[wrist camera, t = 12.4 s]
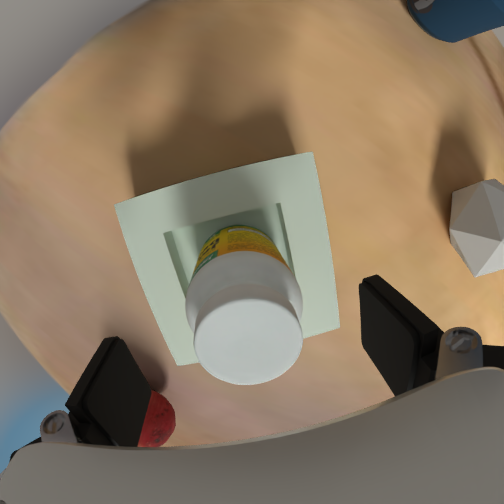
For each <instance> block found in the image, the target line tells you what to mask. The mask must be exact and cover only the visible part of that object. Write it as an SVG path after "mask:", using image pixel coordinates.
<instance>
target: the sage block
mask: <svg viewBox="0 0 504 504" xmlns="http://www.w3.org/2000/svg"><path fill="white" fill-rule="evenodd" d="M114 206H115V210H116V213H117V216H118V220H119V223H120V226H121V229H122V232H123V235H124V238H125V241H126V244H127V247H128V250H129V253H130V256H131V259H132V261H133V264H134V267H135V270H136V272H137V275H138V277H139V280H140V283H141V285H142V288H143V290H144V293H145V295H146V298H147V300H148V303H149V305H150V307H151V310H152V312H153V314H154V317H155V319H156V321H157V323H158V326H159V328H160V330H161V332H162V335H163V337H164V339H165V341H166V343H167V345H168V347H169V349H170V351H171V354H172V356H173V358H174V360H175V362H176V364H177V366H180V365H187V364H193V363H198V362H199V360H198V358H197V356H196V354H195V350H194V345H193V342H194V334H193V332H192V330H191V328H190V327H189V324H188V321H187V317H186V312H185V301H186V294H187V289H188V286H189V283H190V280H191V278H192V275H193V272H194V268H195V266H196V263H197V260H198V257H199V254H200V251H201V249H202V246H203V244H204V243H205V241H206V240H207V239H208V237H209V236H210V235H212V234H213V233H214V232H216V231H217V230H219V229H221V228H223V227H226V226H229V225H233V224H247V225H251V226H254V227H256V228H259V229H260V230H262V231H263V232H265V233H266V234H267V235H268V236H269V237H270V238H271V239H272V241H273V242H274V244H275V245H276V247H277V249H278V250H279V252H280V253H281V255H282V257H283V258H284V260H285V262H286V263H287V265H288V267H289V268H290V270H291V272H292V273H293V275H294V276H295V278H296V280H297V282H298V284H299V286H300V289H301V293H302V299H303V311H302V317H301V320H300V325H301V328H302V334H303V338H307V337H310V336H314V335H317V334H321V333H324V332H327V331H331V330H334V329H337V328H340V322H339V312H338V302H337V293H336V285H335V277H334V269H333V262H332V255H331V248H330V241H329V235H328V229H327V223H326V217H325V211H324V206H323V200H322V195H321V190H320V184H319V179H318V174H317V170H316V165H315V160H314V156H313V152H307V153H301V154H295V155H290V156H285V157H280V158H276V159H271V160H266V161H262V162H257V163H253V164H249V165H245V166H240V167H236V168H232V169H228V170H224V171H221V172H217V173H213V174H209V175H206V176H202V177H198V178H195V179H191V180H188V181H184V182H181V183H178V184H174V185H171V186H168V187H164V188H161V189H158V190H155V191H152V192H149V193H146V194H143V195H140V196H137V197H134V198H131V199H128V200H125V201H123V202H120V203H117V204H115V205H114Z"/></svg>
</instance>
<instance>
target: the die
mask: <svg viewBox="0 0 504 504" xmlns="http://www.w3.org/2000/svg"><path fill="white" fill-rule="evenodd" d="M449 230H450V241H451V245H452V246H453V247H454V249H455V250H456V251H457V253H458V254H459V255H460V257H461V258H462V260H463V261H464V263H465V264H466V265H467V267H468V268H469V270H470V271H471V273H472V274H473V276H474V277H478V276H481V275H485V274H488V273H492V272H495V271H499V270H502V269H504V185H502V184H501V183H500V182H498V181H497V180H496V179H491V180H485V181H481V182H478V183H475V184H473V185H470V186H467V187H465V188H462V189H459V190H457V191H454V192H452V207H451V219H450V228H449Z"/></svg>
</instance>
